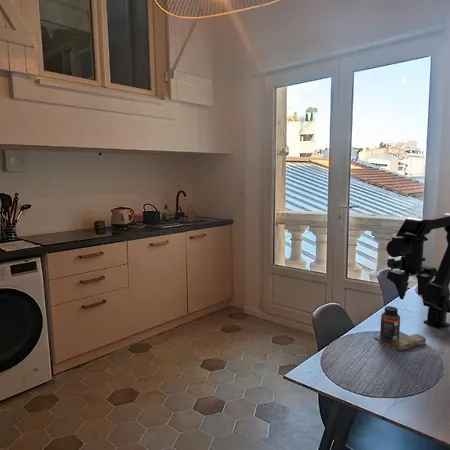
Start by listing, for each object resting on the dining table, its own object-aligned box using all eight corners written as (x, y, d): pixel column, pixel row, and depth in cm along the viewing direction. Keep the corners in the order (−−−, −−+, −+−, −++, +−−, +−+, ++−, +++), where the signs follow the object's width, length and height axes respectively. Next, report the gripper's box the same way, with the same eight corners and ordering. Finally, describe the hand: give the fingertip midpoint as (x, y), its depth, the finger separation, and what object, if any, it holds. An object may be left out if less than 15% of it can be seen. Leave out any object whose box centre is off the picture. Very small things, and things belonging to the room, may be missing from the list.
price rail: (416, 339, 129) (416, 333, 129) (426, 344, 125) (426, 338, 125) (390, 347, 124) (391, 340, 124) (400, 352, 120) (401, 345, 120)
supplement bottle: (400, 344, 125) (402, 312, 123) (381, 343, 126) (383, 311, 124) (396, 336, 131) (398, 305, 129) (378, 335, 132) (380, 304, 130)
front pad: (399, 331, 135) (399, 330, 135) (416, 339, 129) (416, 338, 129) (374, 338, 130) (374, 337, 130) (390, 347, 124) (390, 346, 124)
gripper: (412, 247, 142) (409, 286, 144) (375, 252, 134) (373, 294, 136) (439, 253, 132) (436, 295, 134) (402, 259, 124) (399, 304, 126)
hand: (410, 297), depth 133 cm, fingers open, 9 cm apart
